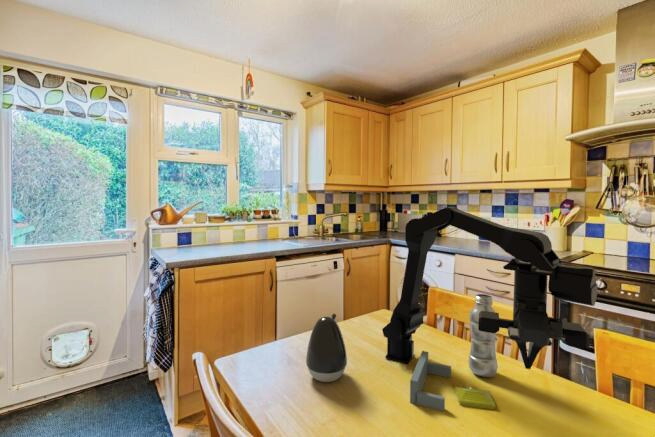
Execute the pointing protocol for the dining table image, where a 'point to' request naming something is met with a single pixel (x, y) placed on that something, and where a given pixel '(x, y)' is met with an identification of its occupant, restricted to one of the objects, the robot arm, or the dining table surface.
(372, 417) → the dining table surface
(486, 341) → the plastic bottle
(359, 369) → the dining table surface
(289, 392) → the dining table surface
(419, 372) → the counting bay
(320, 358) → the dark grey egg shape
